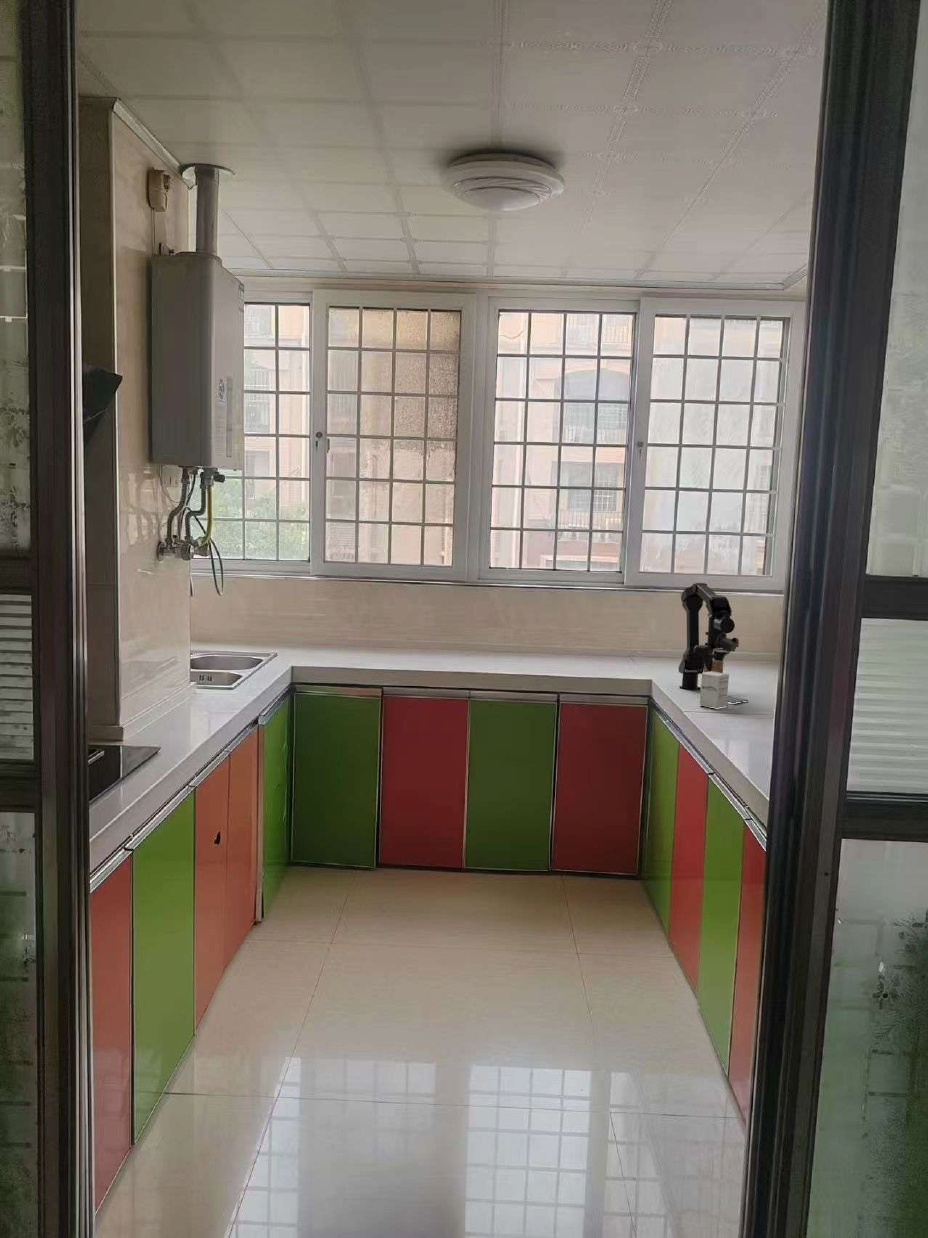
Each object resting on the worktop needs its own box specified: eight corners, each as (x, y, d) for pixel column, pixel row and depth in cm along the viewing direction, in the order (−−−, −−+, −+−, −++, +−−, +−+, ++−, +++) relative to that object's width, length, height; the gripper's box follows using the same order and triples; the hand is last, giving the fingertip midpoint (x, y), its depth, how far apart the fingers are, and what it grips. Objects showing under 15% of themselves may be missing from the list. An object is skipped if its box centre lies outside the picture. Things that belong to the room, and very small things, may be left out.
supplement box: (698, 706, 355) (700, 672, 353) (709, 704, 360) (711, 670, 358) (716, 710, 349) (718, 675, 348) (727, 707, 355) (729, 673, 353)
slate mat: (727, 697, 373) (727, 695, 373) (747, 701, 367) (748, 699, 367) (712, 700, 366) (712, 698, 366) (733, 704, 360) (733, 702, 360)
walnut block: (711, 672, 370) (712, 659, 370) (722, 674, 366) (723, 661, 366) (703, 673, 367) (704, 660, 366) (714, 675, 363) (715, 662, 363)
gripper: (720, 633, 353) (717, 676, 354) (748, 630, 365) (745, 671, 367) (694, 630, 361) (691, 671, 363) (723, 627, 373) (720, 667, 375)
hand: (713, 670), depth 367 cm, fingers closed on walnut block, 5 cm apart
